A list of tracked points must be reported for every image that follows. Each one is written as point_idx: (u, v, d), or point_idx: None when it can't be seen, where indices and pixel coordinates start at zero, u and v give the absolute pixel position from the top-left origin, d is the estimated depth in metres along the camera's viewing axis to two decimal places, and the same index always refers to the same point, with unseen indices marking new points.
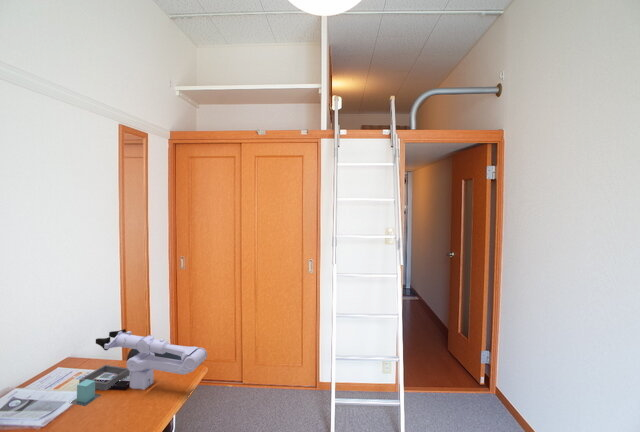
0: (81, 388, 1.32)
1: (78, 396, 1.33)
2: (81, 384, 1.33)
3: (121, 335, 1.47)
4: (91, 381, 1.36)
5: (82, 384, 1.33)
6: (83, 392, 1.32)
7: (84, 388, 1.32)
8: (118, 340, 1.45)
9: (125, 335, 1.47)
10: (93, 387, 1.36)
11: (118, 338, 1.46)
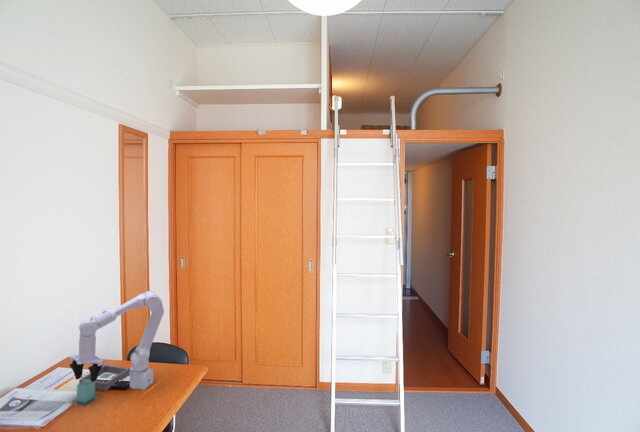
0: (81, 388, 1.32)
1: (78, 396, 1.33)
2: (81, 384, 1.33)
3: (82, 359, 1.31)
4: None
5: (82, 384, 1.33)
6: (83, 392, 1.32)
7: (84, 388, 1.32)
8: (89, 357, 1.32)
9: (82, 354, 1.31)
10: (93, 387, 1.36)
11: (87, 359, 1.32)
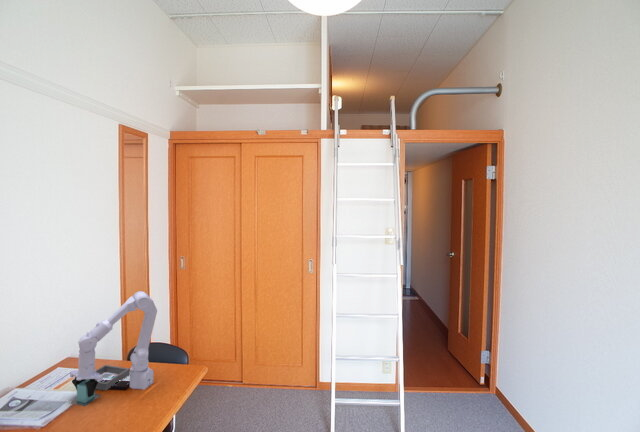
0: (81, 388, 1.32)
1: (78, 396, 1.33)
2: (81, 384, 1.33)
3: (82, 374, 1.31)
4: None
5: (82, 384, 1.33)
6: (83, 392, 1.32)
7: (84, 388, 1.32)
8: (89, 373, 1.33)
9: (81, 370, 1.31)
10: None
11: (87, 374, 1.32)
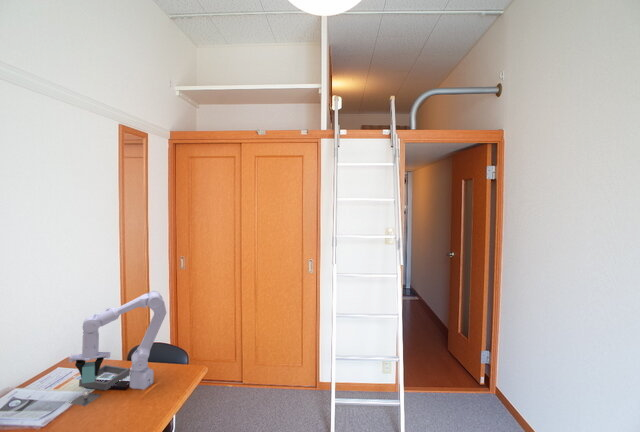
0: (88, 369, 1.34)
1: (84, 378, 1.34)
2: (86, 366, 1.35)
3: (90, 355, 1.34)
4: (94, 362, 1.38)
5: (87, 365, 1.35)
6: (91, 372, 1.35)
7: (92, 368, 1.35)
8: (96, 352, 1.36)
9: (89, 351, 1.34)
10: None
11: (95, 354, 1.35)
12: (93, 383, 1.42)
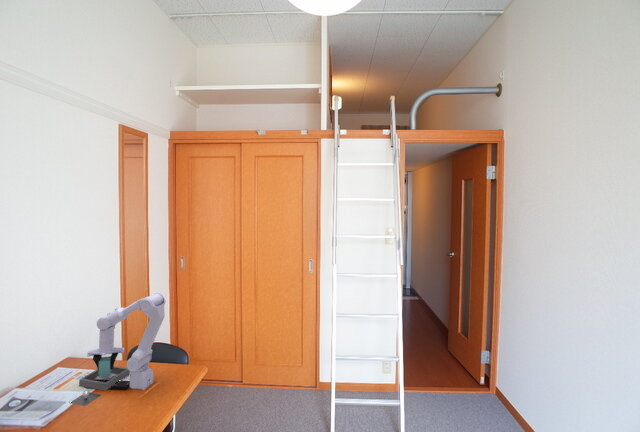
0: (104, 363, 1.46)
1: (100, 371, 1.46)
2: (102, 360, 1.47)
3: (106, 350, 1.46)
4: (109, 357, 1.50)
5: (103, 360, 1.47)
6: (106, 366, 1.47)
7: (107, 363, 1.47)
8: (111, 347, 1.48)
9: (105, 346, 1.46)
10: None
11: (110, 349, 1.48)
12: (93, 383, 1.42)
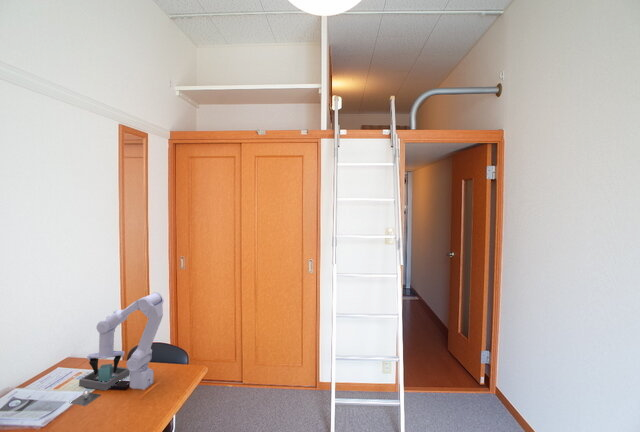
0: (104, 371, 1.47)
1: (100, 379, 1.46)
2: (102, 368, 1.47)
3: (106, 353, 1.46)
4: (109, 364, 1.50)
5: (103, 368, 1.47)
6: (106, 374, 1.47)
7: (107, 370, 1.47)
8: (111, 351, 1.48)
9: (105, 350, 1.46)
10: (111, 369, 1.51)
11: (110, 353, 1.48)
12: (93, 383, 1.42)
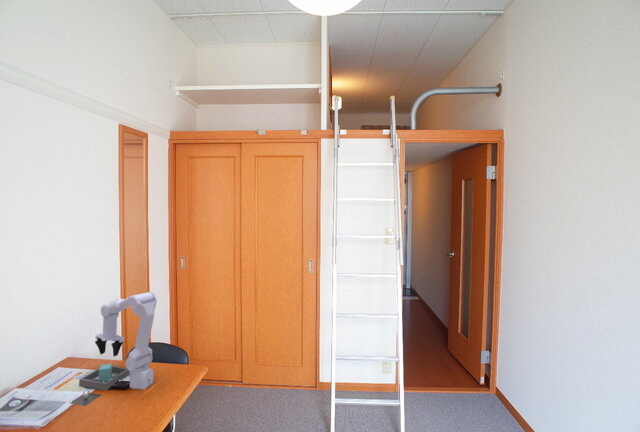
0: (104, 371, 1.47)
1: (100, 379, 1.46)
2: (102, 368, 1.47)
3: (106, 336, 1.54)
4: (109, 364, 1.50)
5: (103, 368, 1.47)
6: (106, 374, 1.47)
7: (107, 370, 1.47)
8: (112, 335, 1.55)
9: (105, 332, 1.53)
10: (111, 369, 1.51)
11: (110, 336, 1.54)
12: (93, 383, 1.42)
